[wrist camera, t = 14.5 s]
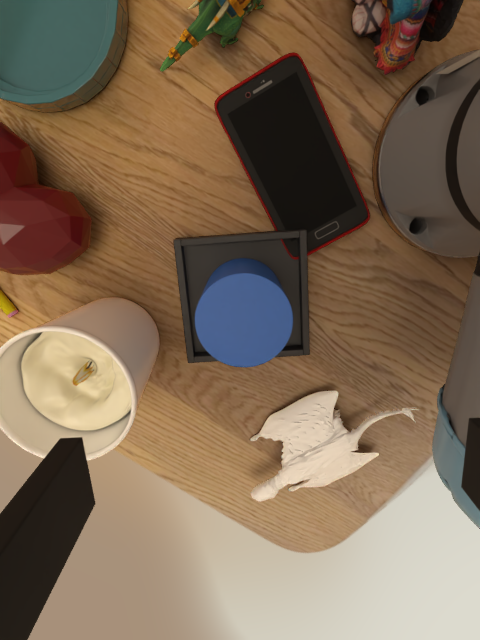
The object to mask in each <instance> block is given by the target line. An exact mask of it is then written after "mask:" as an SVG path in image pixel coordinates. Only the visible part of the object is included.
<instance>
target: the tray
mask: <svg viewBox="0 0 480 640" xmlns="http://www.w3.org/2000/svg"><path fill="white" fill-rule="evenodd" d="M288 238H298V253H299V256H298V257H299V259H298V260H294V259H292V258H291V257H290V255H289V254H288V252H287V251H286V249H285V247H284V245H283V243H282V241H281V239H288ZM174 249H175V257H176V266H177V274H178V283H179V291H180V300H181V308H182V316H183V325H184V333H185V342H186V350H187V359H188V363H194V362H195V363H196V362H211V361H219V360H217V359H215V358H214V357H213V356H211V355H210V354H209V353H208V352H207V351H206V349H205V348H204V347H203V345H202V344H201V342H200V340H199V338H198V336H197V333H196V328H195V312H196V308H197V305H198V302H199V300H200V298H201V295H202V293H203V291H204V289H205V286H206V284H207V282H208V280H209V278H210V276H211V275H212V273H213V272H214V271H215V270H216V269H217V268H218V267H219V266H221V265H222V264H224V263H225V262H228V261H230V260H233V259H239V258H248V259H253V260H257V261H259V262H261V263H263V264H265V265H266V266H268V267H269V268H270V269H271V270H272V271H273V272H274V274H275V275H276V276H277V278H278V280H279V282H280V284H281V286H282V288H283V290H284V292H285V294H286V296H287V298H288V300H289V302H290V305H291V308H292V312H293V327H292V332H291V335H290V338H289V340H288V342H287V344H286V345H285V347H284V348H283V349H282V350H281V352H280V353H279V354H277V355H276V356H275V357H286V356H301V355H310V347H309V306H308V266H307V230H305V229H300V230H287V231H268V232H255V233H241V234H228V235H214V236H201V237H187V238H176V239H174ZM289 253H290V252H289Z"/></svg>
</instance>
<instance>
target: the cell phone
mask: <svg viewBox="0 0 480 640" xmlns="http://www.w3.org/2000/svg"><path fill="white" fill-rule="evenodd" d="M302 64H303V65H302ZM215 110H216V113H217V116H218V118H219V120H220V122H221V124H222V126H223V128H224V131H225V133H227V135H228V137H229V139H230V141H231V143H232V145H233V147H234V149H235V151H236V153H237V155H238V157H239V159H240V161H241V164H242V166H243V168H244V170H245V172H246V174H247V176H248V178H249V180H250V181H251V183H252V185H253V187H254V189H255V191H256V193H257V195H258V197H259V199H260V201H261V203H262V205H263V207H264V209H265V211H266V213H267V215H268V217H269V218H270V220H271V222H272V224H273V226H274V228H275V230H276V231H287V230H300V229H305V230H307V256H308V255H310V254H312V253H314V252H316V251H317V250H319V249H321V248H323V247H325V246H327V245H329V244H330V243H332V242H334V241H336V240H338V239H340V238H342V237H343V236H345V235H347V234H349V233H351V232H353V231H355V230H356V229H358V228H360V227H362V226H363V225H364V224H366V223H367V222H368V221H369V219H370V213H369V210H368V207H367V204H366V202H365V199H364V197H363V195H362V193H361V190H360V188H359V186H358V184H357V181H356V179H355V177H354V174H353V172H352V170H351V168H350V165H349V163H348V161H347V159H346V156H345V154H344V152H343V149H342V147H341V145H340V143H339V140H338V138H337V136H336V134H335V131H334V129H333V127H332V124H331V122H330V120H329V118H328V115H327V113H326V111H325V109H324V106H323V104H322V102H321V99H320V97H319V95H318V93H317V90H316V88H315V86H314V84H313V81H312V79H311V77H310V74H309V72H308V70H307V68H306V66H305V64H304V62H303V60H302V58H301V57H300V56H299V55H298V54H297V53H294V52H293V53H289V54H286V55H284V56H282V57H281V58H279V59H277V60H276V61H274V62H272V63H271V64H269V65H268V66H266V67H264V68H263V69H261V70H260V71H258V72H256V73H255V74H253V75H252V76H250V77H248V78H247V79H245V80H243V81H242V82H240V83H239V84H237V85H235V86H234V87H232V88H231V89H229V90H227V91H226V92H224V93H223V94H221V95H220V96H219V97H218V98H217V99H216V101H215ZM325 115H326V116H325ZM326 117H327V118H326ZM329 124H330V125H329ZM330 126H331V127H330ZM357 225H358V226H357ZM281 241H282V243H283V245H284V247H285V249H286V251H287V252H288V254H289V255H290V257H291V258H292V259H294V260H298V259H299V257H298V256H299V253H298V238H288V239H281ZM289 252H290V253H289Z"/></svg>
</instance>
